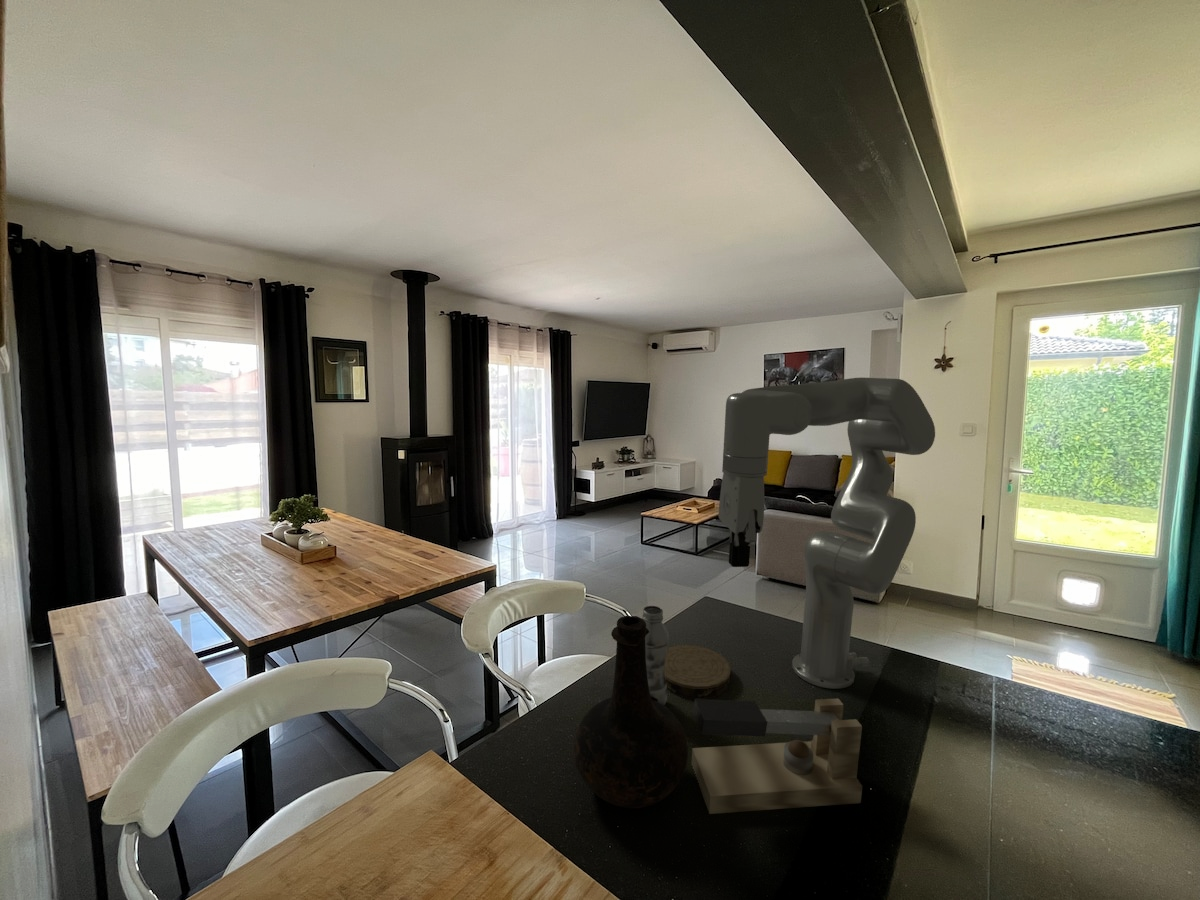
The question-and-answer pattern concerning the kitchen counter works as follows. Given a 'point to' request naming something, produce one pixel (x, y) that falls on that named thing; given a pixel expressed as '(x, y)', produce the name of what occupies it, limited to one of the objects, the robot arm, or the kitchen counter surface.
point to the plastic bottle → (656, 652)
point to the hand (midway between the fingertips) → (738, 564)
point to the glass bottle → (631, 732)
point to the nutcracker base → (783, 770)
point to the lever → (758, 719)
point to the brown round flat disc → (696, 672)
